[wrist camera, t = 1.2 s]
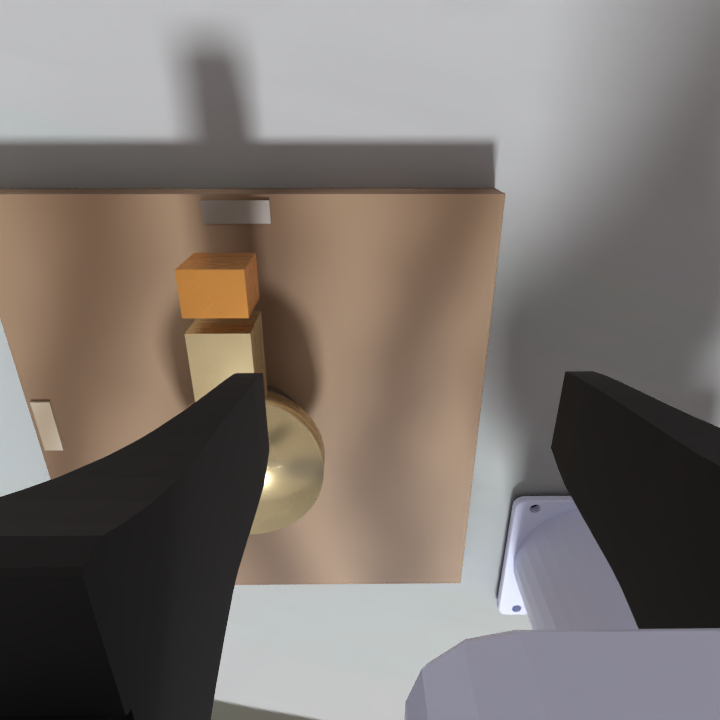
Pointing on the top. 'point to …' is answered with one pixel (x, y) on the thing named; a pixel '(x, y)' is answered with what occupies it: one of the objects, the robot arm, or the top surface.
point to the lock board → (274, 347)
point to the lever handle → (246, 355)
